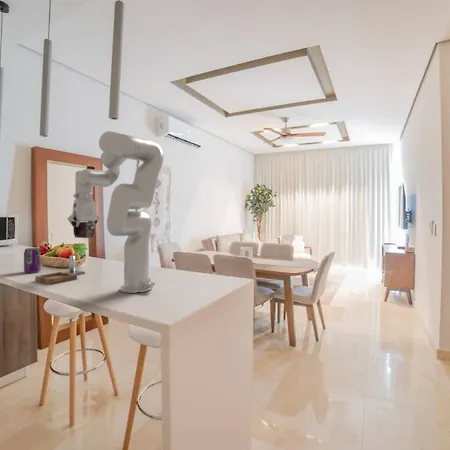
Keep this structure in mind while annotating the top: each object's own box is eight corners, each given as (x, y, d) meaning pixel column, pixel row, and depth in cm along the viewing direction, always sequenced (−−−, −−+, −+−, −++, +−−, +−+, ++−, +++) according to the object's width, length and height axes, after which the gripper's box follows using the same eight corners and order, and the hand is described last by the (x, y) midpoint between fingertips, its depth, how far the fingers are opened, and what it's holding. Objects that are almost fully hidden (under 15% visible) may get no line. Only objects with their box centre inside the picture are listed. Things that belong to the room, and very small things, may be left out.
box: (85, 238, 142) (85, 222, 142) (74, 237, 143) (74, 222, 143) (93, 237, 148) (93, 222, 148) (82, 236, 149) (82, 221, 149)
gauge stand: (84, 273, 153) (84, 255, 153) (70, 276, 146) (70, 257, 146) (74, 271, 157) (74, 254, 157) (59, 274, 150) (59, 256, 150)
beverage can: (43, 271, 156) (43, 248, 156) (28, 274, 150) (28, 249, 150) (36, 270, 160) (36, 247, 160) (21, 272, 154) (21, 248, 154)
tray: (77, 279, 141) (77, 274, 141) (51, 284, 130) (51, 279, 130) (61, 276, 147) (60, 271, 146) (35, 281, 136) (35, 276, 136)
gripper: (72, 196, 135) (72, 236, 136) (104, 198, 150) (104, 234, 151) (61, 196, 139) (61, 235, 140) (94, 198, 154) (94, 233, 155)
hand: (84, 234), depth 145 cm, fingers closed on box, 7 cm apart
